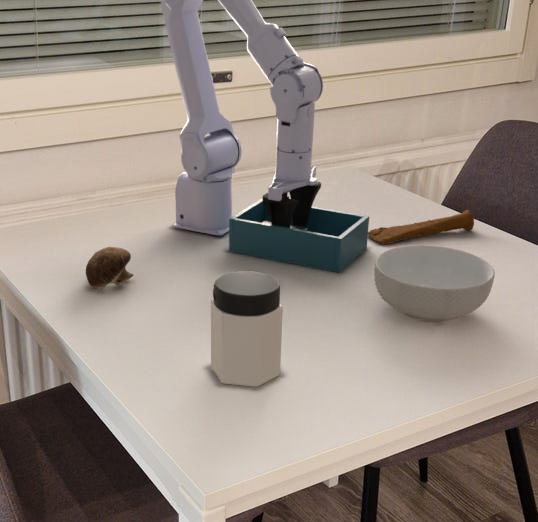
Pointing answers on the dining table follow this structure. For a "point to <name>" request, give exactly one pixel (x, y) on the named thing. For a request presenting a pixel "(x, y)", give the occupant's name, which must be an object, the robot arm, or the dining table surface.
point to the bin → (300, 237)
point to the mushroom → (108, 267)
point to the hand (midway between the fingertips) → (290, 232)
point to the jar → (246, 328)
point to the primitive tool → (423, 228)
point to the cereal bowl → (433, 281)
